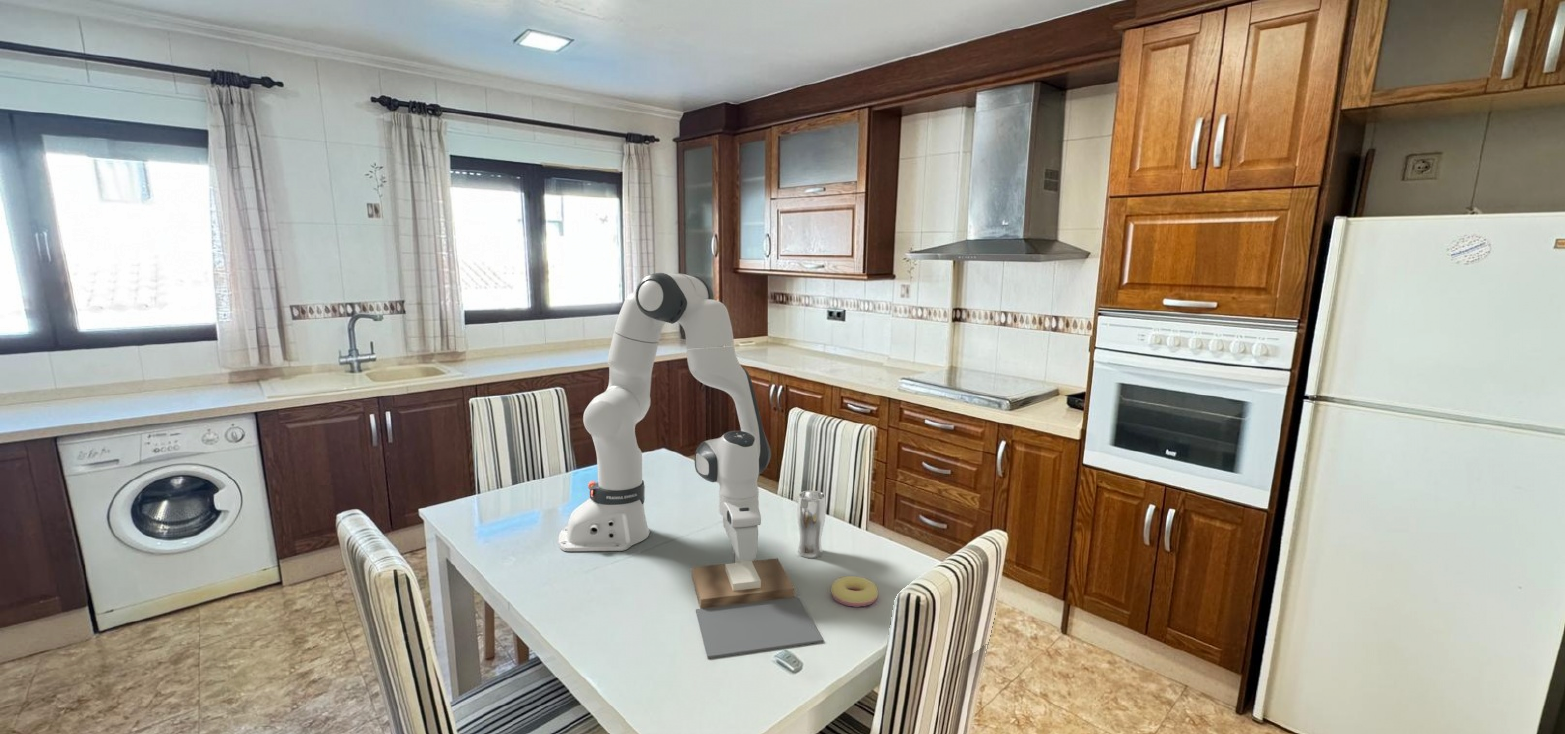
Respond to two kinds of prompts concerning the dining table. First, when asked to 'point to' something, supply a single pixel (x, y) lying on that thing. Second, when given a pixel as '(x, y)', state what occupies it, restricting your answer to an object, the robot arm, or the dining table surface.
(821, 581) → the dining table surface
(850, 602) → the donut
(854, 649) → the dining table surface
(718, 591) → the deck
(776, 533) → the dining table surface
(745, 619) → the mat
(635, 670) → the dining table surface
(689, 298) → the robot arm
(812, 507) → the beer glass
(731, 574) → the tile
